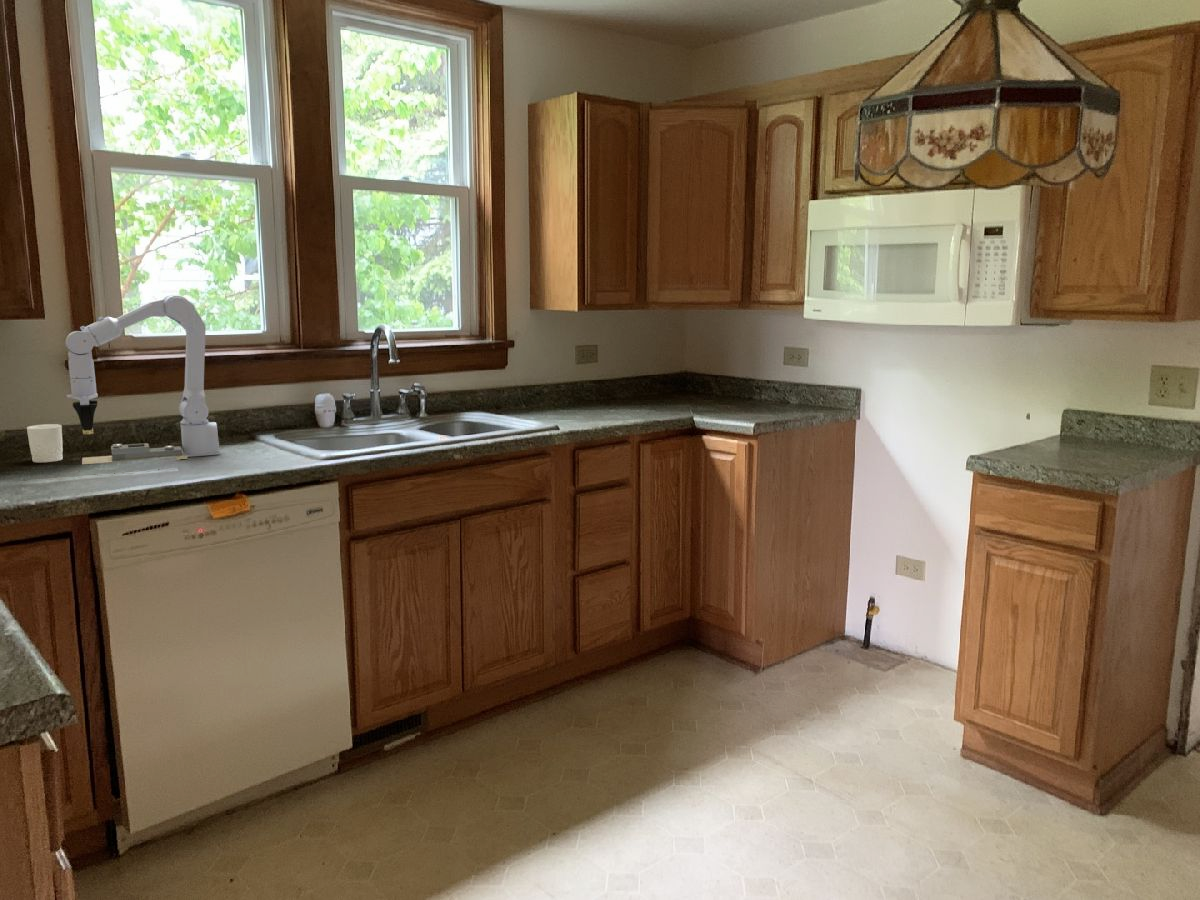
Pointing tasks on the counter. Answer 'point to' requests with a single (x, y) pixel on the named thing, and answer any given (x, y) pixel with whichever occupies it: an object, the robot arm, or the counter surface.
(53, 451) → the white cup
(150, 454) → the door lock with knob
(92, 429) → the brass knob
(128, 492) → the counter surface
